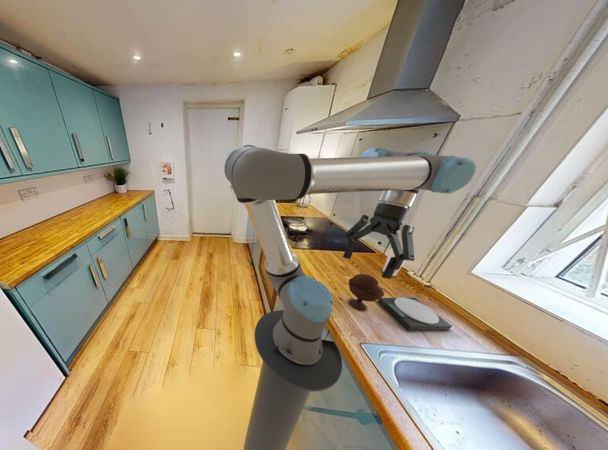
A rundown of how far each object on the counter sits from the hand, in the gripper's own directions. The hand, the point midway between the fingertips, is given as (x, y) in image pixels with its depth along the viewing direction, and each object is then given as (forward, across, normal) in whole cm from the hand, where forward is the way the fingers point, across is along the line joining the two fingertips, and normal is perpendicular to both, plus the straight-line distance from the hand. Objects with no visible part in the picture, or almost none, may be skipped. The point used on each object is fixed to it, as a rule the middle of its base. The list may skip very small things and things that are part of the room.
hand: (364, 266), depth 65 cm
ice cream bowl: (+18, +6, -15) cm, 24 cm away
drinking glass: (+8, +20, -47) cm, 52 cm away
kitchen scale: (+15, -2, -30) cm, 34 cm away
